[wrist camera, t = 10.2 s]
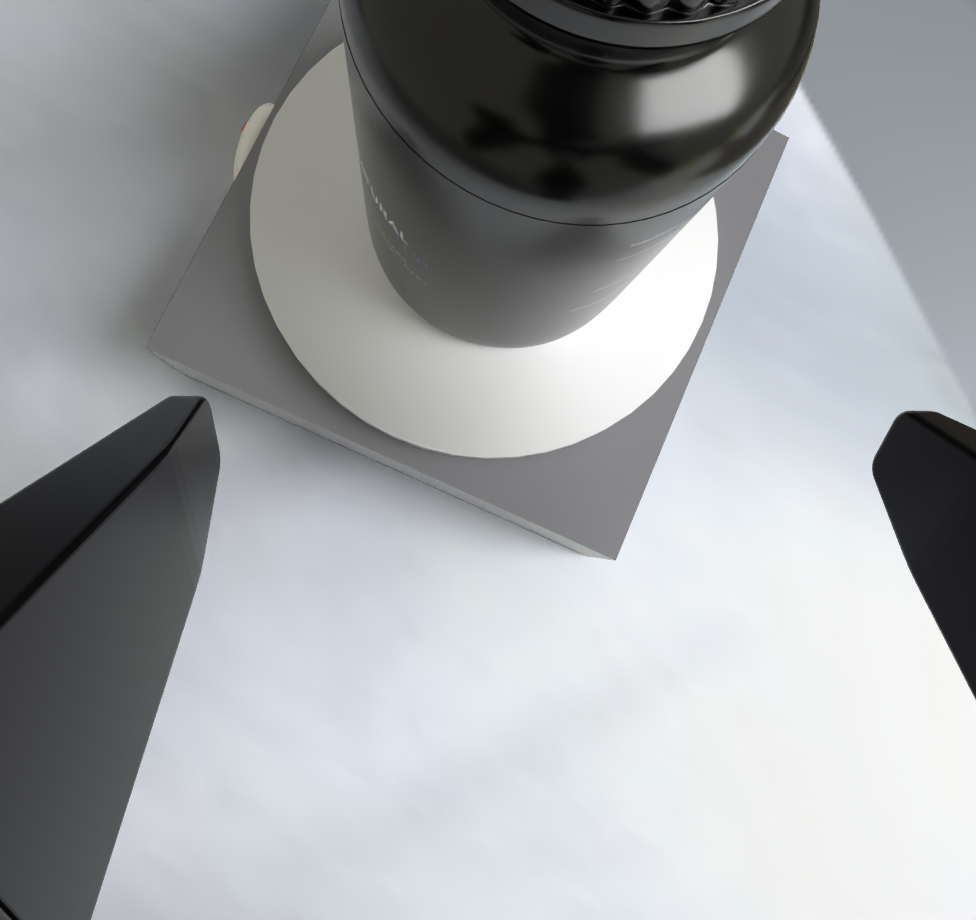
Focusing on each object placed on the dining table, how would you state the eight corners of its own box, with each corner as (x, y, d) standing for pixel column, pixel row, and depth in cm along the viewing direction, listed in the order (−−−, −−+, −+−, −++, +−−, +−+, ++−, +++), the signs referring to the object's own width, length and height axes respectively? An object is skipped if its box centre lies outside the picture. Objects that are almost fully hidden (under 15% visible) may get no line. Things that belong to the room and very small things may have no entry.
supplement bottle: (311, 245, 17) (90, -386, 5) (475, 48, 18) (597, -854, 6) (533, 413, 17) (796, 166, 6) (684, 209, 18) (1184, -373, 6)
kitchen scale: (586, 556, 21) (624, 561, 17) (164, 365, 20) (107, 327, 16) (739, 188, 23) (804, 121, 19) (356, -1, 22) (344, -110, 18)
